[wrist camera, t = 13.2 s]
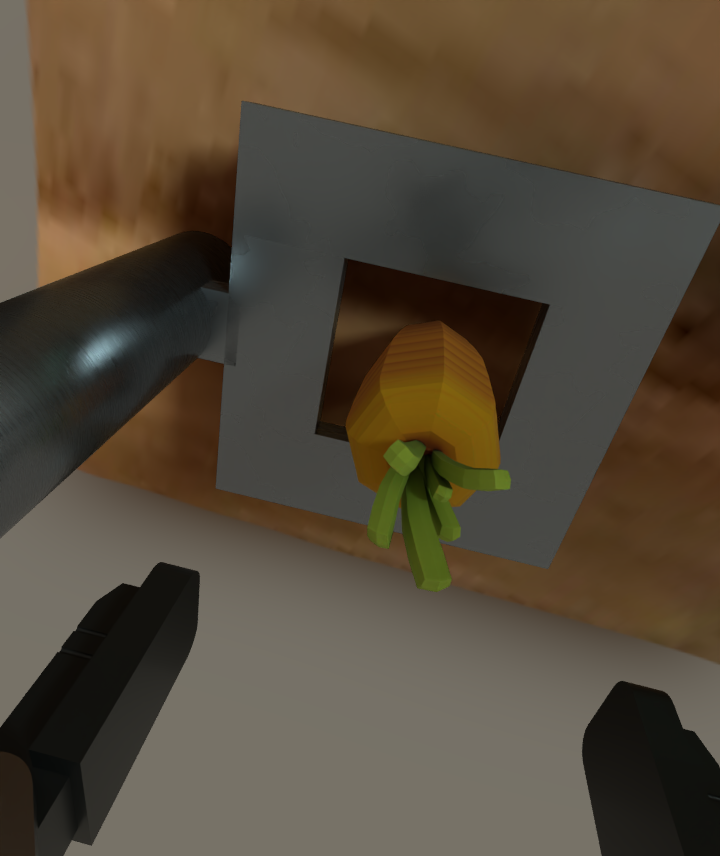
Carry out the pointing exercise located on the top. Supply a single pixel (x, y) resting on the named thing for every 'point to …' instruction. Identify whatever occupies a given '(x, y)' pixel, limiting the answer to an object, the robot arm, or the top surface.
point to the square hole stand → (319, 309)
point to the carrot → (425, 442)
